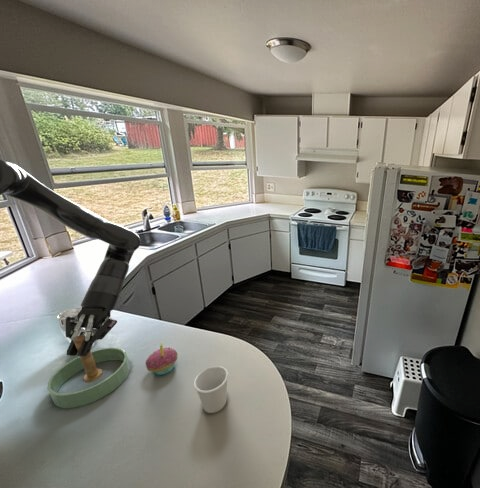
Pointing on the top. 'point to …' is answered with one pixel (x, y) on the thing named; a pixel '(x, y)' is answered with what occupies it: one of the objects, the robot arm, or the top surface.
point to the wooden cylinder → (88, 362)
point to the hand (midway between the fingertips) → (76, 355)
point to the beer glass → (62, 320)
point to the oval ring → (94, 391)
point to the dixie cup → (212, 388)
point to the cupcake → (161, 360)
